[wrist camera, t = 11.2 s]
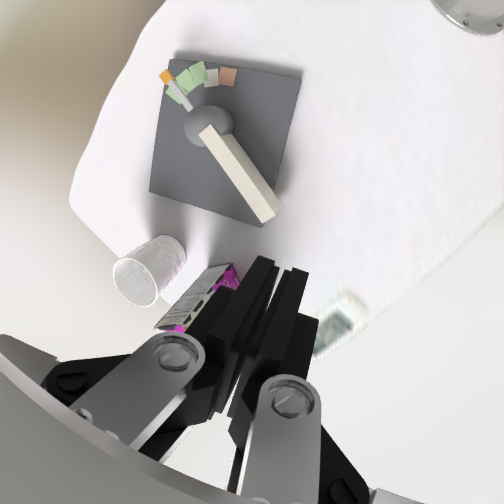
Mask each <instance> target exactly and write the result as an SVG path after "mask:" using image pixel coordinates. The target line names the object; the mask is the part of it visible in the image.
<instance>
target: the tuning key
mask: <svg viewBox="0 0 504 504" xmlns="http://www.w3.org/2000/svg"><path fill="white" fill-rule="evenodd" d="M159 77H160V78H161V79H162V81H163V82H164V83H165V85H168V86H169V87H170V88H171V90H172V91H173V92H174V94H175V95H176V96H177V98H178V99H179V100H180V102H181V103H182V104H183V106H184V107H185V108H186V110H187V111H188V112H189V113H188V114H187V116H186V118H185V121H184V131H185V134H186V137H187V138H188V139H189V141H190V142H191V143H193V144H195V145H197V146H201V147H206V146H207V147H208V149H209V150H210V151H211V153H212V154H213V155H214V157H215V158H216V160H217V161H218V162H219V164H220V165H221V167H222V168H223V169H224V171H225V172H226V173H227V175H228V176H229V178H230V179H231V180H232V182H233V183H234V185H235V186H236V187H237V189H238V190H239V192H240V193H241V194H242V196H243V197H244V199H245V200H246V201H247V203H248V204H249V206H250V207H251V209H252V210H253V211H254V213H255V214H256V216H257V217H258V219H259V220H260V221H261V223H262V224H263V223H264V222H266V221H268V220H269V219H271V218H272V217H274V216H276V214H277V213H278V212H279V210H280V209H281V208H282V206H283V205H282V204H281V202H280V201H279V200H278V198H277V197H276V195H275V194H274V192H273V191H272V189H271V188H270V187H269V185H268V184H267V182H266V181H265V179H264V178H263V177H262V175H261V174H260V172H259V171H258V169H257V168H256V167H255V165H254V164H253V162H252V161H251V160H250V158H249V157H248V156H247V154H246V153H245V151H244V150H243V149H242V147H241V146H240V144H239V143H238V142H237V140H236V139H235V138H234V136H233V135H232V133H233V131H234V125H235V123H234V118H233V116H232V114H231V112H230V111H229V110H228V109H226V108H224V107H222V106H211V105H201V106H197V107H194V105H193V104H192V103H191V101H190V100H189V99H188V97H187V96H186V95H185V93H184V92H183V91H182V90H181V88H180V87H179V86H178V84H177V83H176V82H175V80H174V79H175V78H174V76H173V75H172V74H171V73H170V71H169V70H165V71H164V72H163V73H162V74H161V75H160V76H159Z"/></svg>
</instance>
